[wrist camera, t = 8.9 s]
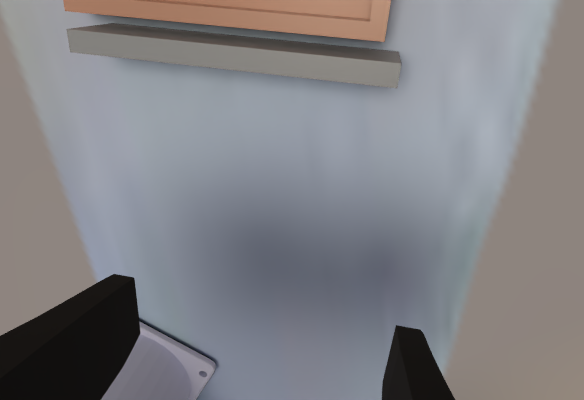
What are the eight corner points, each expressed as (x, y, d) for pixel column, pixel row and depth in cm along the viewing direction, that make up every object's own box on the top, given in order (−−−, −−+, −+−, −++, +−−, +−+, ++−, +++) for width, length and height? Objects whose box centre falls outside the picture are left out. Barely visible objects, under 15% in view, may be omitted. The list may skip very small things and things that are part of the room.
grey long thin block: (394, 72, 17) (397, 88, 14) (114, 43, 19) (70, 52, 16) (398, 51, 17) (401, 63, 14) (112, 23, 18) (66, 29, 16)
